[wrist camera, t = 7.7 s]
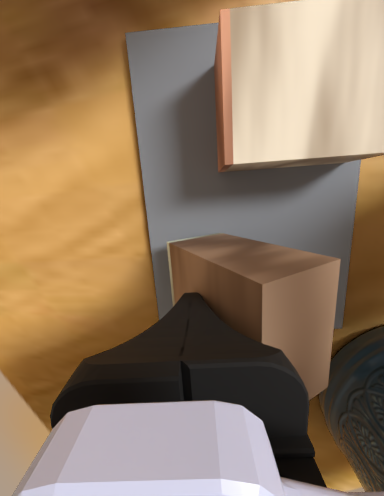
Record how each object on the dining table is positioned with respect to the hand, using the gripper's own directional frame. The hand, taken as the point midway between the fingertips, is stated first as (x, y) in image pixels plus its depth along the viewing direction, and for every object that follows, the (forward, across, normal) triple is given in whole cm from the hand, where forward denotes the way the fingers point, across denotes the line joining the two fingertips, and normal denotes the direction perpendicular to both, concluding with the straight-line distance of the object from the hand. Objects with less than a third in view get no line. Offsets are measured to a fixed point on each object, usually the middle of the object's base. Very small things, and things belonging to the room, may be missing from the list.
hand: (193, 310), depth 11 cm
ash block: (+3, -2, -10) cm, 11 cm away
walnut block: (+4, 0, 0) cm, 4 cm away
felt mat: (+5, -4, -5) cm, 8 cm away
